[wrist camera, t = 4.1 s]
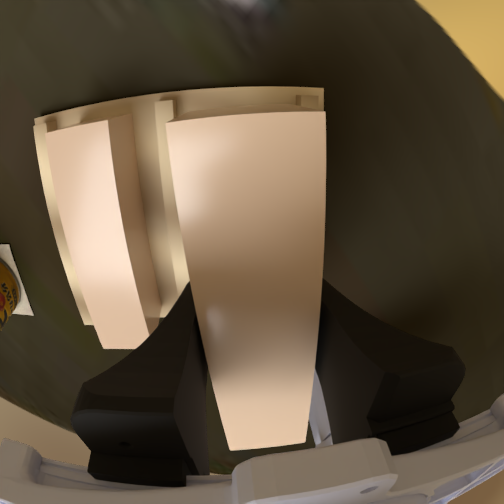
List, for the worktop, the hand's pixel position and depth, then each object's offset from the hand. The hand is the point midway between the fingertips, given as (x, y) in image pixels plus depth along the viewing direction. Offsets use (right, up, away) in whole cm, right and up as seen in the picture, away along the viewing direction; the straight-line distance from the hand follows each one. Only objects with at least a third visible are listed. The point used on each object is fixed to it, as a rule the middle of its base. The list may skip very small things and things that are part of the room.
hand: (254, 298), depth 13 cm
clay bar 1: (-9, +4, +7) cm, 12 cm away
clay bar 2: (0, +1, +1) cm, 2 cm away
